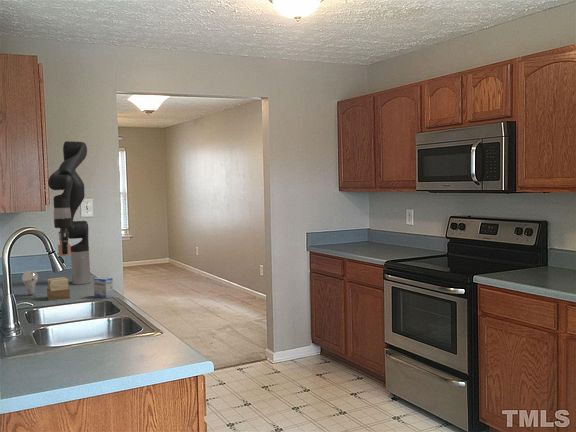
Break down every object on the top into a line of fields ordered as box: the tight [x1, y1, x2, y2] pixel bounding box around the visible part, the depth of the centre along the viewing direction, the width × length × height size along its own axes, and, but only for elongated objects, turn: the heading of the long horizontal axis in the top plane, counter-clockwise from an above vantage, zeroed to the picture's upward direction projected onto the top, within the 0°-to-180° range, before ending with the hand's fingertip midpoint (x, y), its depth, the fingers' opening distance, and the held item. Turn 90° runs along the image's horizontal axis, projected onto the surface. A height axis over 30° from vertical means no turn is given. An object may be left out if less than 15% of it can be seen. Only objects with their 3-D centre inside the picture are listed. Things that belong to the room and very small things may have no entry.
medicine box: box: [93, 277, 114, 299], centre depth 256 cm, size 8×4×9 cm, turn 62°
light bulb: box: [21, 269, 39, 296], centre depth 265 cm, size 7×7×12 cm
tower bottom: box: [46, 287, 71, 302], centre depth 257 cm, size 9×9×4 cm
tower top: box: [47, 276, 69, 291], centre depth 257 cm, size 8×8×4 cm
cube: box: [57, 243, 72, 257], centre depth 259 cm, size 5×5×5 cm
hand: (64, 253), depth 259 cm, fingers closed on cube, 5 cm apart
